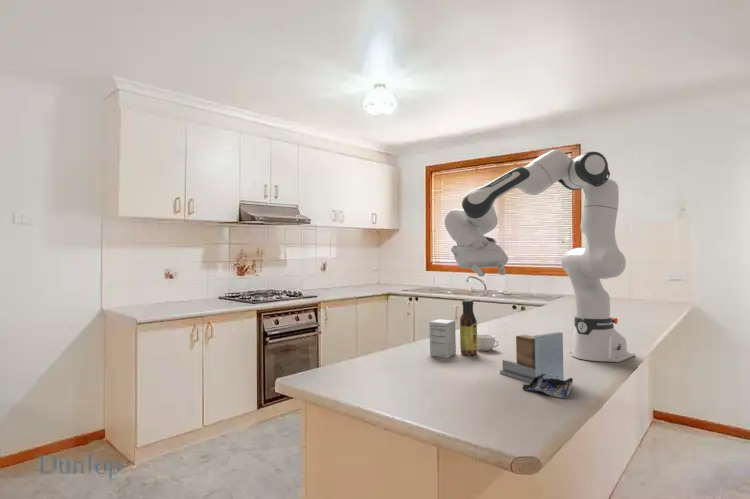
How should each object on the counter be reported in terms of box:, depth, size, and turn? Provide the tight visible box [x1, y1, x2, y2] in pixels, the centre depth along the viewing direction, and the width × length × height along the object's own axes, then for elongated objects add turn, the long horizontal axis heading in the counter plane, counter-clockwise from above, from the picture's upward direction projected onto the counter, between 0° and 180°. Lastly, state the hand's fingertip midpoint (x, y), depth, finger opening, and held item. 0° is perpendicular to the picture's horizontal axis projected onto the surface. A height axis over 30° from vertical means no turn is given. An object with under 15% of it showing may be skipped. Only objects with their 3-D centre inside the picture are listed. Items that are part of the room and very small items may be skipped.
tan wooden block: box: [515, 334, 535, 368], centre depth 138 cm, size 4×6×11 cm, turn 29°
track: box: [499, 331, 565, 384], centre depth 138 cm, size 10×16×14 cm, turn 29°
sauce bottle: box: [459, 299, 478, 356], centre depth 169 cm, size 7×6×20 cm
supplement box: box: [428, 318, 457, 359], centre depth 169 cm, size 7×7×13 cm
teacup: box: [477, 333, 499, 352], centre depth 175 cm, size 10×8×5 cm
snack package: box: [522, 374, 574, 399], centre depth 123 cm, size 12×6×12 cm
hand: (493, 274), depth 151 cm, fingers open, 8 cm apart
